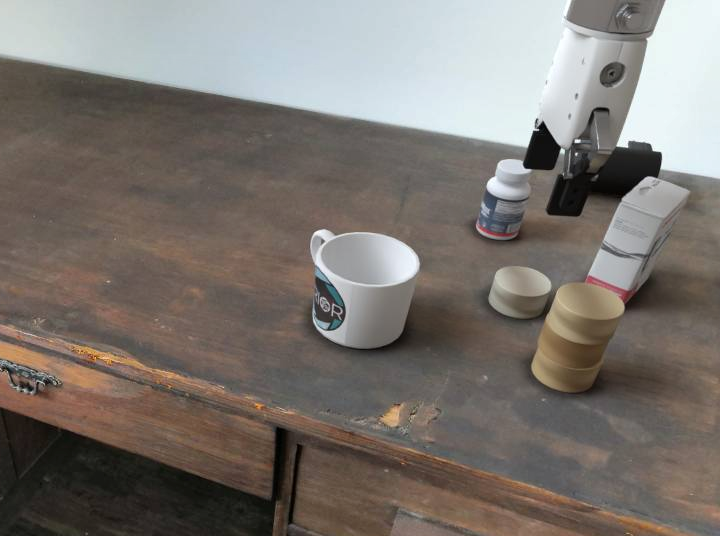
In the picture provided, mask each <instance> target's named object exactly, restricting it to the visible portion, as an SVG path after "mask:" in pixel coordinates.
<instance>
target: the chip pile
mask: <svg viewBox="0 0 720 536" xmlns="http://www.w3.org/2000/svg"><path fill="white" fill-rule="evenodd" d="M548 315H549V312H548V313H547V315H546V317H545V319H544V323H543V324H542V327H541V330H540V333H539V336H538V338H537V348H536V351H535V353H534V356H533V359H532V362H531V366H530V367H531V372H532V374H533V376H534V377H535V378H536V379H537V380H538V381H539V382H540V383H541V384H543V385H544V386H546V387H548V388H549V389H552V390H555V391H559V392H563V393H569V394H571V393H573V394H574V393H575V394H576V393H582V392H585V391H587V390H589V389H591V387H593V385H594V383H595V381H596V378H597V377H598V374H599V372H600V370H601V367H602V365H603V362H604V359H605V356H604V354H605V352H606V349H607V348H608V345H609V343H610V340H609V341H608V342H606V343H603V344H598V345H585V344H579V343H575V342H572V341H569V340H567V339H565V338H563V337H561V336H559V335H558V334H557V333H555V332H554V331H553V330H552V329H551V327H550V326H549V324H548V319H547V318H548Z"/></svg>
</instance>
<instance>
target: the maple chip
mask: <svg viewBox="0 0 720 536" xmlns="http://www.w3.org/2000/svg"><path fill="white" fill-rule="evenodd" d="M625 309H626V307H625V305H624V303H623V301H622V300H621V299H620V297H619V296H617V295H616V294H615V293H613V292H612V291H610V290H608V289H606V288H604V287H601V286H598V285H594V284H590V283H585V282H582V281H581V282H576V281H575V282H569V283H565V284H563V285H562V286H560V287H559V288H558V289H557V290H556V294H555V296H554V299H553V301H552V303H551V307H550V308H549V312H548V313H549V315H548V318H547V319H548V324H549V326H550V327H551V329H552V330H553V331H554V332H555V333H557V334H558V335H559V336H561V337H563V338H565V339H567V340H569V341H572V342H575V343H579V344H585V345H598V344H603V343H606V342H608V341H609V342H610V341H611V339H613V337H614V335H615V333H616V331H617V329H618V326H619V324H620V322H621V320H622V317H623V315H624V313H625Z"/></svg>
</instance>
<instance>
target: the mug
mask: <svg viewBox="0 0 720 536" xmlns="http://www.w3.org/2000/svg"><path fill="white" fill-rule="evenodd" d="M322 240H323V241H324V242H323V243H322ZM309 245H310V246H309V247H310V255H311V258H312V261H313V263H314V265H315V266H314V267H315V268H314V269H315V270H314V271H315V273H314V287H313V303H312V323H313V324H314V326H315V328H316V329H317V331H318V332H319V333H320V334H321V335H322V336H323V337H324V338H326V339H328V340H329V341H331V342H333V343H334V344H337V345H340V346H342V347H346V348H352V349H360V350H362V349H364V350H370V349H377V348H382V347H383V346H387V345H390V344H392V343H393V342H394V341H396V340H397V339H399V338H400V336H401V335H402V333H403V332H404V328H405V324H406V320H407V317H408V314H409V310H410V306H411V303H412V302H411V301H412V299H413V296H414V292H415V288H416V285H417V281H418V277H419V274H420V270H421V263H420V258H419V256H418V254H417V253H416V252H415V250H413V248H412V247H410V246H409V245H407V244H406V243H405V242H403V241H401V240H399V239H397V238H395V237H392V236H389V235H385V234H381V233H375V232H365V231H363V232H362V231H361V232H360V231H355V232H346V233H341V234H338V235H335V234H334V233H333V232H332V231H331V230H327V229H325V228H323V229H319V230H316V231H315V232H314V233H313V235H312V236H311V239H310V244H309Z"/></svg>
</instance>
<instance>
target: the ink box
mask: <svg viewBox="0 0 720 536" xmlns="http://www.w3.org/2000/svg"><path fill="white" fill-rule="evenodd" d="M691 192H692V190H691V189H687V188H685V187H682V186H680V185H678V184H675V183H673V182H670V181H667V180H665V179H661V178H659V177H658V178H655V177H646V178H644V180H642V181H641V182H640V183H639V184H638V185H637V186H635V187H634V188H633V189H632V190H631V191H630V192H629V193H627V194H626V195H625V196H624V197H622V198H621V201H620V202H619V203H618V206H617V208H616V210H615V213H614V216H613V217H612V219H611V221H610V224H609V226H608V228H607V231H606V233H605V236H604V237H603V240H602V241H601V245H600V247H599V249H598V251H597V254H596V256H595V258H594V260H593V262H592V265H591V267H590V269H589V271H588V274H587V276H586V278H585V281H584V283H590V284H594V285H598V286H601V287H604V288H606V289H608V290H610V291H612V292H613V293H615V294H616V295H617V296H619V297H620V299H621V300H622V301H623V303H624V306H625V305H626V304H627V302H629V300H630V299H631V298H632V297H633V296H634V295H635V294H636V293H637V292H638V290H639V289H641V287H642V285H644V284H645V283H646V281H647V280H648V279H649V277H650V276H651V273H652V271H653V269H654V267H655V265H656V263H657V261H658V259H659V257H660V255H661V252H662V251H663V248H664V247H665V244H666V243H667V241H668V238H669V236H670V235H671V233H672V230H673V228H674V227H675V224H676V222H677V220H678V218H679V217H680V215H681V213H682V210H683V208H684V206H685V204H686V203H687V200H688V199H689V196H690V194H691Z"/></svg>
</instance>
